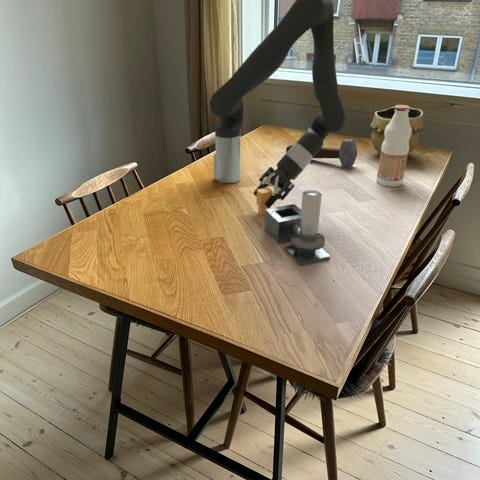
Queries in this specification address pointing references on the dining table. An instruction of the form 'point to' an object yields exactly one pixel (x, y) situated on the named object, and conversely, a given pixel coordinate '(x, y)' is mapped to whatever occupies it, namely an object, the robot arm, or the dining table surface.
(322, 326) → the dining table surface
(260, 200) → the orange block
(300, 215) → the bracket post
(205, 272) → the dining table surface
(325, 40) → the robot arm
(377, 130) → the clay pot
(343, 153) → the hammer
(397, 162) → the fruit juice
